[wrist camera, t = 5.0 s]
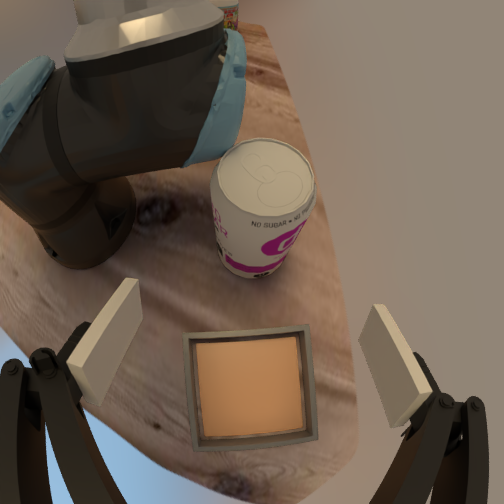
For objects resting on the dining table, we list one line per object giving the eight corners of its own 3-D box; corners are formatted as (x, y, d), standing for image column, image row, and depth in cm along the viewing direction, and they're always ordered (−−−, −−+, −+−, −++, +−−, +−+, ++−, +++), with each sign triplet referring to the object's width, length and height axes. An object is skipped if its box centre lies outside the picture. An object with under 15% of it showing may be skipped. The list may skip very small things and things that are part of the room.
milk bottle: (198, 39, 51) (196, -28, 32) (221, 30, 53) (223, -32, 35) (220, 46, 50) (222, -26, 31) (243, 38, 52) (248, -29, 33)
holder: (312, 433, 26) (318, 439, 24) (196, 444, 25) (193, 451, 22) (303, 326, 30) (309, 324, 28) (186, 334, 29) (182, 332, 27)
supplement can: (299, 251, 33) (343, 183, 19) (247, 294, 31) (260, 249, 17) (255, 204, 35) (270, 119, 21) (203, 242, 33) (186, 166, 19)
